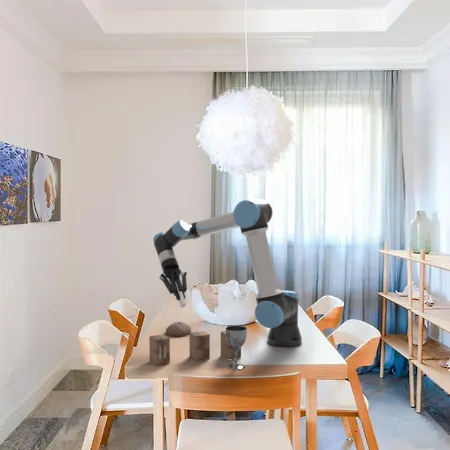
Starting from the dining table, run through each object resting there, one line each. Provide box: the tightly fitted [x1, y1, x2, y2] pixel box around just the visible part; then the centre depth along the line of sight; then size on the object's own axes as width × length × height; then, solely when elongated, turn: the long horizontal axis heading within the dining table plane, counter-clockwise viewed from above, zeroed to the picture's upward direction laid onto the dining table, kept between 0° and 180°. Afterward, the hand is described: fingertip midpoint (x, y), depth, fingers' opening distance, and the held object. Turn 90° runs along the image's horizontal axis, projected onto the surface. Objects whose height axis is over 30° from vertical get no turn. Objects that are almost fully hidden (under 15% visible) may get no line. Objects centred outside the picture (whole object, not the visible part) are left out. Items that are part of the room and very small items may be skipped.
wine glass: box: [225, 324, 248, 371], centre depth 180 cm, size 8×8×15 cm
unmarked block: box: [188, 330, 211, 362], centre depth 190 cm, size 6×6×10 cm
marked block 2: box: [220, 330, 242, 361], centre depth 192 cm, size 6×6×10 cm
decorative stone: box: [165, 321, 192, 338], centre depth 225 cm, size 12×12×6 cm
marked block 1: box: [148, 334, 171, 367], centre depth 185 cm, size 6×6×10 cm
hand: (183, 305), depth 205 cm, fingers closed
